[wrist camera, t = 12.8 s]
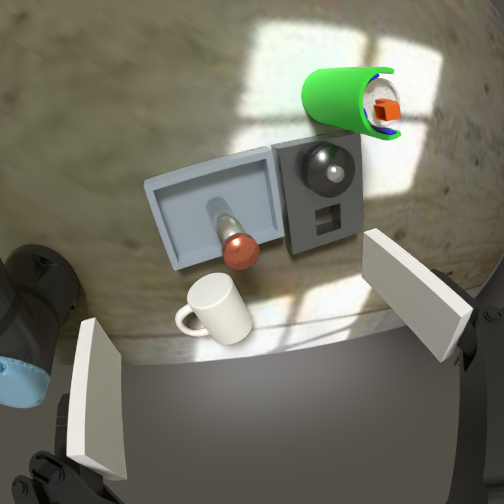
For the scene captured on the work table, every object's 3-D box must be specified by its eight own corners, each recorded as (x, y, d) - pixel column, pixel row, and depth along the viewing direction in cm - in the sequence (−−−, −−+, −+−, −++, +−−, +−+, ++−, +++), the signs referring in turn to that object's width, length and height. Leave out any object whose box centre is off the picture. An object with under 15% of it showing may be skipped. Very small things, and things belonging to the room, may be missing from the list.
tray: (172, 260, 47) (174, 270, 45) (144, 180, 40) (143, 186, 37) (277, 227, 50) (284, 236, 47) (264, 146, 42) (271, 150, 40)
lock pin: (207, 222, 45) (228, 274, 33) (200, 198, 43) (219, 244, 31) (232, 214, 46) (262, 263, 34) (227, 191, 43) (256, 233, 32)
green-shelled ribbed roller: (353, 113, 43) (436, 134, 28) (315, 133, 43) (392, 161, 29) (333, 63, 38) (418, 62, 23) (291, 81, 38) (367, 82, 23)
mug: (225, 265, 51) (237, 293, 44) (246, 304, 56) (259, 332, 50) (163, 295, 50) (166, 326, 43) (189, 330, 56) (196, 361, 49)
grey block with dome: (286, 246, 52) (302, 266, 47) (271, 145, 42) (288, 154, 37) (353, 224, 54) (373, 240, 49) (349, 130, 45) (374, 137, 39)
